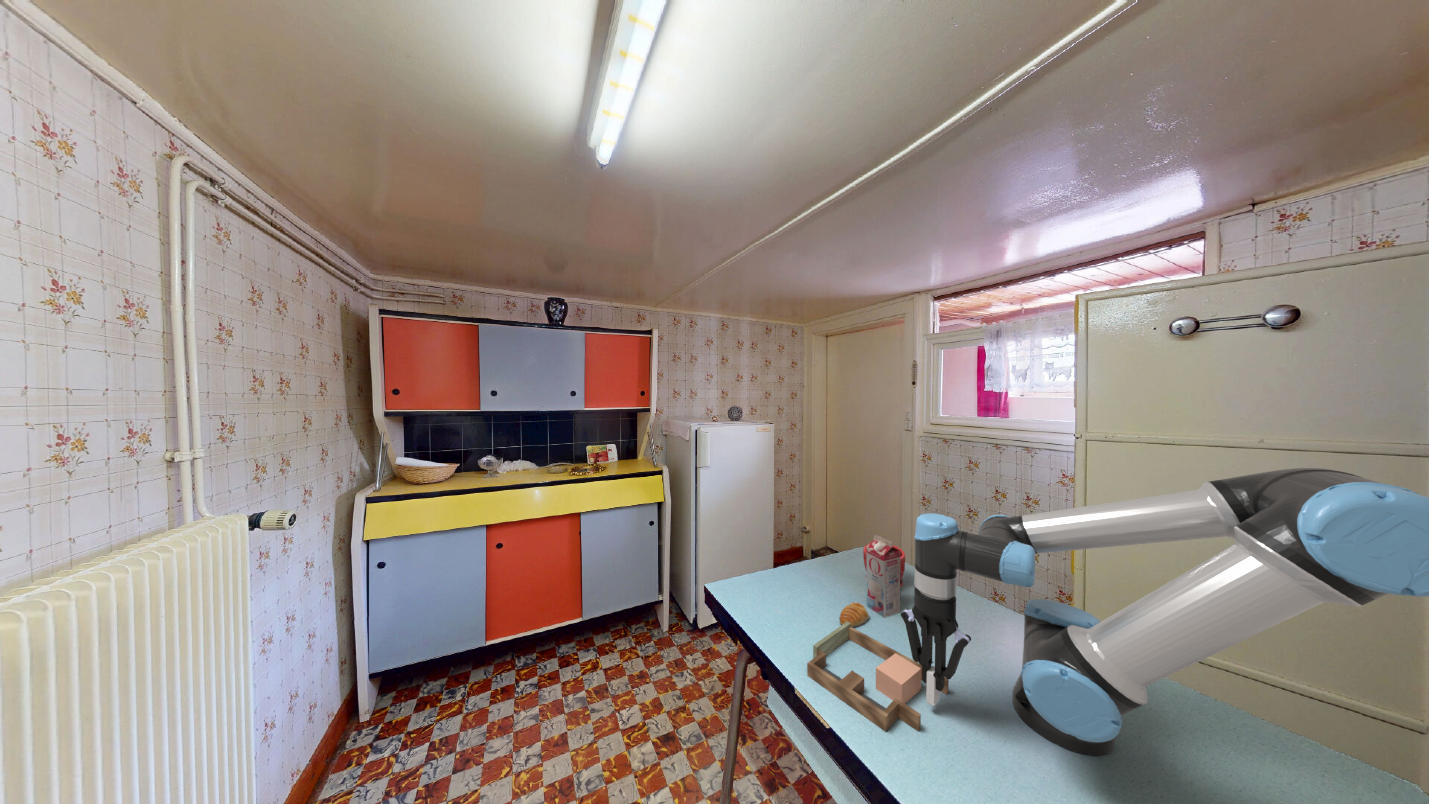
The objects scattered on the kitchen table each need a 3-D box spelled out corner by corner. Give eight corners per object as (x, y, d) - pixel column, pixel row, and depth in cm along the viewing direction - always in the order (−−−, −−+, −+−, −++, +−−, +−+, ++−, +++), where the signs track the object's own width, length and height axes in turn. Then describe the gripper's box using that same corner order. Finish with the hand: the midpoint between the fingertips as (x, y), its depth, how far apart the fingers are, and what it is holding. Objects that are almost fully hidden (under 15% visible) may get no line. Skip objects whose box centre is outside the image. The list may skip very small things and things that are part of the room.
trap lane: (948, 692, 84) (948, 674, 84) (906, 746, 72) (906, 726, 71) (847, 635, 104) (847, 621, 103) (800, 670, 91) (800, 654, 91)
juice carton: (883, 617, 111) (884, 544, 110) (866, 605, 117) (866, 535, 117) (900, 612, 114) (900, 540, 113) (882, 600, 120) (882, 532, 119)
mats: (893, 714, 79) (893, 713, 79) (883, 725, 76) (883, 724, 76) (823, 667, 92) (823, 666, 92) (813, 676, 89) (813, 674, 89)
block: (921, 690, 85) (921, 668, 85) (901, 707, 80) (901, 684, 80) (895, 673, 90) (895, 653, 90) (875, 689, 85) (875, 667, 85)
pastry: (855, 633, 105) (855, 620, 105) (833, 623, 110) (832, 610, 110) (870, 619, 111) (870, 606, 111) (849, 609, 116) (849, 597, 116)
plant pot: (858, 574, 137) (858, 541, 137) (896, 575, 136) (896, 542, 135) (869, 594, 124) (869, 558, 124) (911, 595, 123) (912, 559, 122)
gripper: (977, 597, 76) (975, 711, 77) (910, 573, 86) (909, 673, 87) (964, 612, 71) (961, 733, 72) (894, 584, 81) (893, 690, 82)
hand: (932, 700), depth 79 cm, fingers closed
